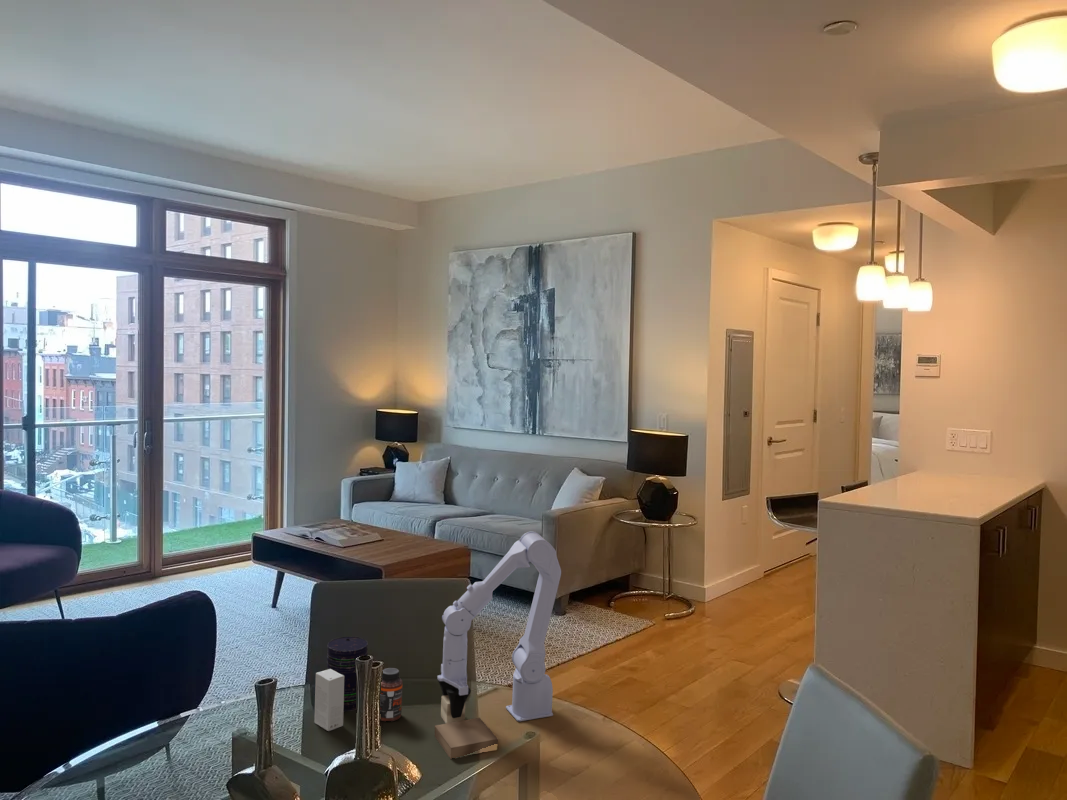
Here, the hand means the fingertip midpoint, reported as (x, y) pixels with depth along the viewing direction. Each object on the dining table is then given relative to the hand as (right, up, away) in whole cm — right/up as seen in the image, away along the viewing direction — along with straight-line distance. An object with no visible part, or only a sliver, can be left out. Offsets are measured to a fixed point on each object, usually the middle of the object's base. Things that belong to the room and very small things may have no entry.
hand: (452, 712), depth 190 cm
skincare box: (-28, -1, -5) cm, 29 cm away
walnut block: (+4, -3, -11) cm, 12 cm away
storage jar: (-27, 0, +6) cm, 28 cm away
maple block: (0, -2, 0) cm, 2 cm away
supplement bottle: (-15, -1, 0) cm, 15 cm away
